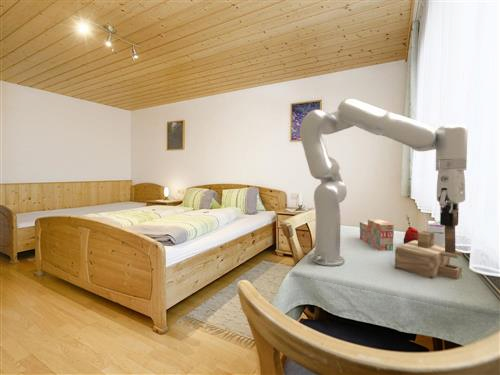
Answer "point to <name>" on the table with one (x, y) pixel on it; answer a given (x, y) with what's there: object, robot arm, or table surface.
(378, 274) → the table surface
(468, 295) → the table surface
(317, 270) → the table surface
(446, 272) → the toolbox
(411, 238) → the red clay folk toy
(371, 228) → the stack of blocks
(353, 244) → the table surface
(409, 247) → the lid
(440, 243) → the syrup box
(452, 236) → the wooden bottle
